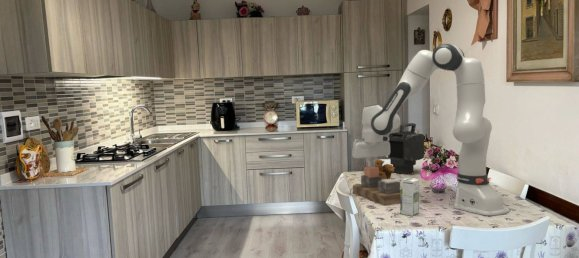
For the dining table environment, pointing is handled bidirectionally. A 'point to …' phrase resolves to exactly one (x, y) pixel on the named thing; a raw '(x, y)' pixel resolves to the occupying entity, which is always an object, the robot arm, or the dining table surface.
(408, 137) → the black device with handle
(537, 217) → the dining table surface
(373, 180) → the button board
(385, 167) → the stuffed squirrel
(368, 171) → the reddish orange cube
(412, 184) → the syrup box
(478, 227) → the dining table surface
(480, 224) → the dining table surface
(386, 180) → the white cube
